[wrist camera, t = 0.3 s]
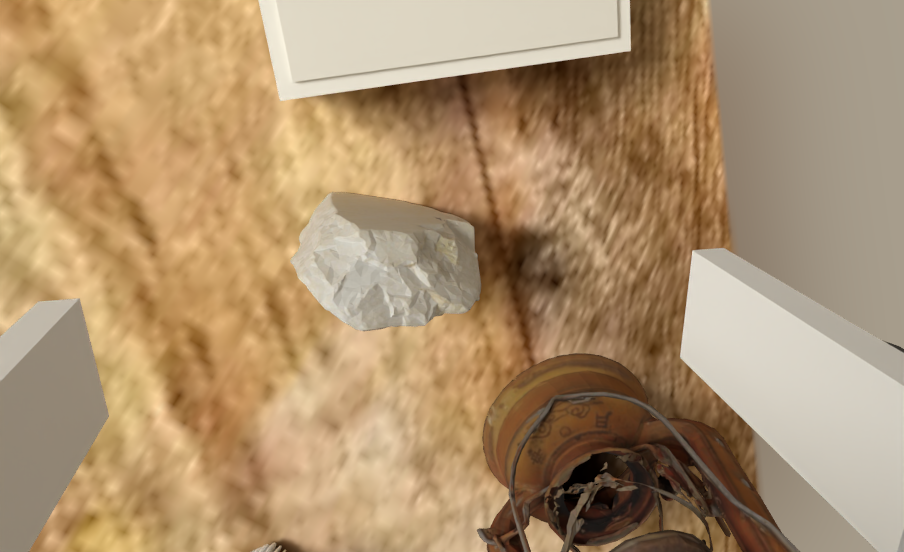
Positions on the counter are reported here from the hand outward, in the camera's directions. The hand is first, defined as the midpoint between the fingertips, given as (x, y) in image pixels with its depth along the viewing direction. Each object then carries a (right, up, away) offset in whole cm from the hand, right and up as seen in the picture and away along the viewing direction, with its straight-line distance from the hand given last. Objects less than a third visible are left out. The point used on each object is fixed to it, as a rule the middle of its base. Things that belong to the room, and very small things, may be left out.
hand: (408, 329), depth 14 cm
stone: (-3, +4, +27) cm, 28 cm away
